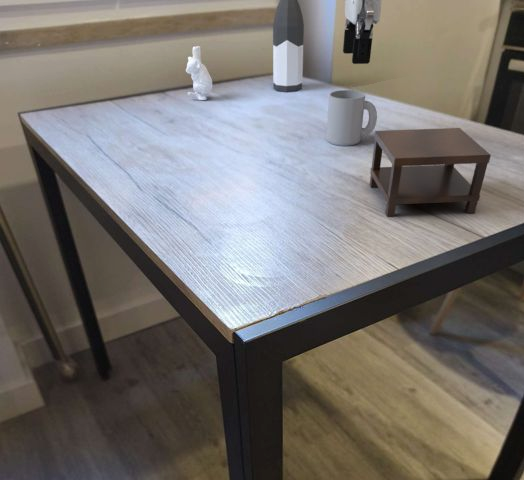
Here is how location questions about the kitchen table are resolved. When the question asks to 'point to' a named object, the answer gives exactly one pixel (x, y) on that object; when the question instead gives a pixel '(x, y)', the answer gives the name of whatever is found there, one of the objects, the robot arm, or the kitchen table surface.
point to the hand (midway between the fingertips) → (355, 58)
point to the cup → (348, 117)
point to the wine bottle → (288, 46)
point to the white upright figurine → (199, 76)
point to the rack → (427, 167)
